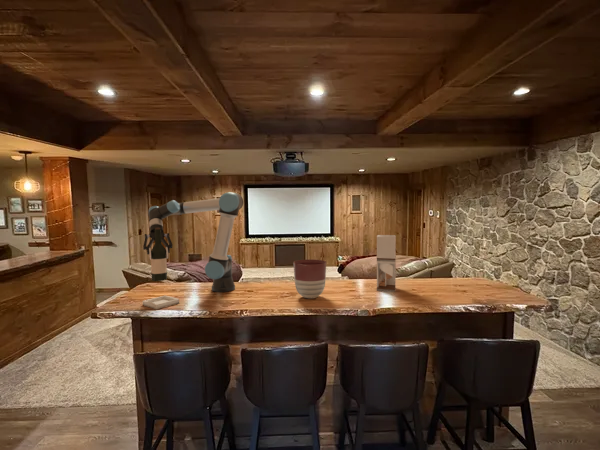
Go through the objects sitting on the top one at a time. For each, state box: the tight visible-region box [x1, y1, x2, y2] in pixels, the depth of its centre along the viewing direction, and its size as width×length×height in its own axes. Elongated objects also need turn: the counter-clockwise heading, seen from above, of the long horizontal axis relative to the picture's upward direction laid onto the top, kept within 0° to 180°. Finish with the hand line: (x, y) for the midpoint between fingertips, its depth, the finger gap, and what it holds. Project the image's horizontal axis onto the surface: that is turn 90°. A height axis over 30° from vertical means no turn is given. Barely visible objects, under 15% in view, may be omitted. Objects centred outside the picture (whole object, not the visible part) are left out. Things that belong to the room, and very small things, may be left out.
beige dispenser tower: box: [376, 234, 397, 293], centre depth 217 cm, size 11×11×35 cm
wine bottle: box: [150, 228, 168, 282], centre depth 192 cm, size 8×8×30 cm
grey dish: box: [141, 294, 180, 310], centre depth 189 cm, size 14×14×2 cm
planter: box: [293, 259, 327, 300], centre depth 199 cm, size 20×20×21 cm
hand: (159, 257), depth 189 cm, fingers closed on wine bottle, 8 cm apart
